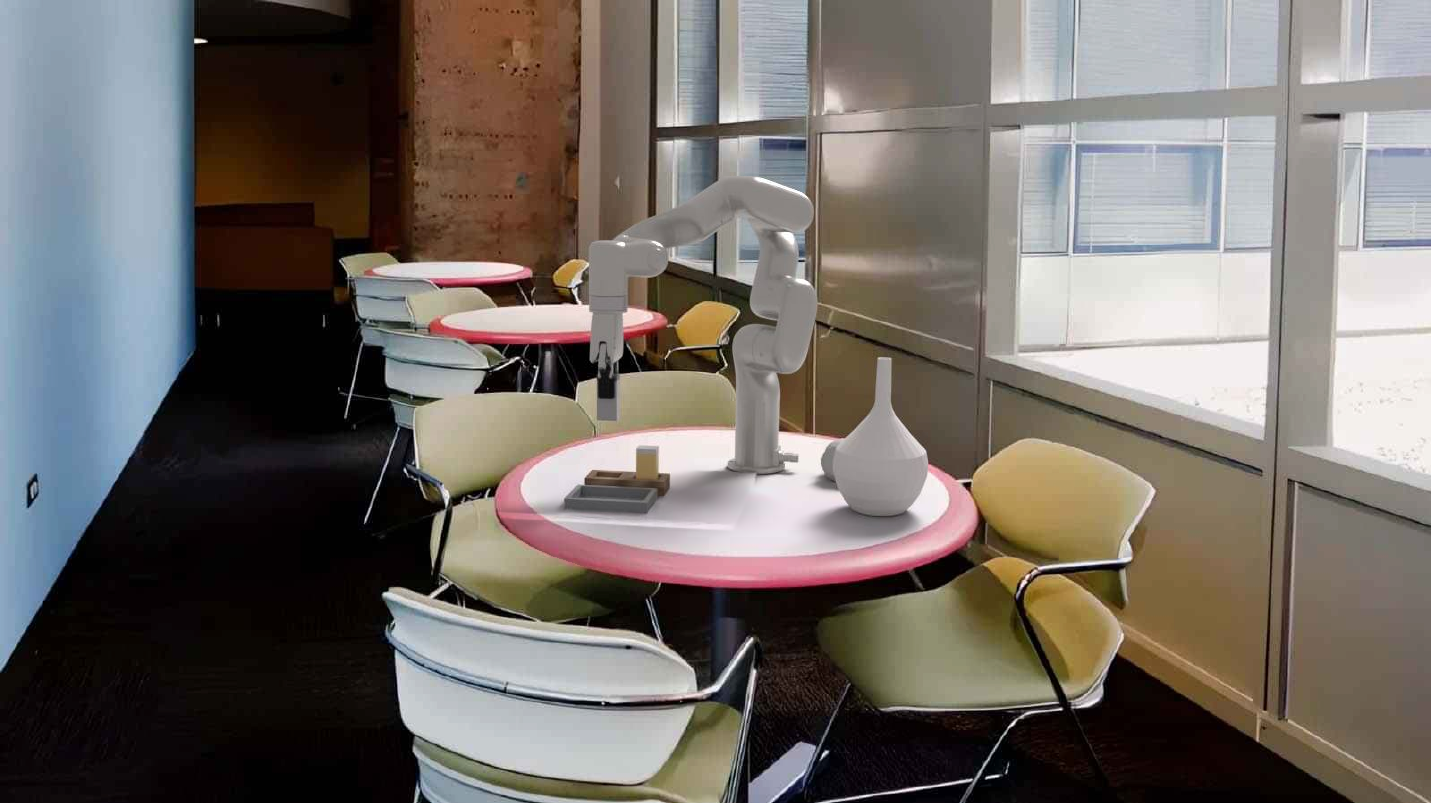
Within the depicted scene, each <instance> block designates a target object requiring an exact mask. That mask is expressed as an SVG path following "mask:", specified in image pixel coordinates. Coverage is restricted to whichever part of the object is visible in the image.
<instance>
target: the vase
mask: <svg viewBox="0 0 1431 803" xmlns="http://www.w3.org/2000/svg"><path fill="white" fill-rule="evenodd" d="M876 361H877V362H876V364H877V365H876V381H875V395H874V396H875V397H874V404H873V406H872V409H871V410H870V412H869V413H868V415H867V416H866V417H864V419H863V420H862V421H861V422H860V423H859V424H858V425H857V426H856V428H855V429H853V430H852V431H851V432H850V434H848V435H847V436H846V437H845V439H844V440H843V441H842V442H841V443H840V444H839V445H838V446H837V447H836V450H835V454H834V458H833V473H834V476H835V480H836V487H837V490H838V491H839V493H840V494H841V496H842V498H843V500H844V501H845V503H846V504H847V505H848V506H849V507H850V508H851V509H852V510H853V512H854V511H855V512H856V513H859V514H862V515H866V516H873V517H894V516H897V515H901V514H903V513H905V511H907V510H908V509H909V508H911V507H912V506H913V504H914V503H915V502H916V500H917V499H918V498H919V496H920V495H921V494H922V493H921V492H922V490H923V488H924V486H925V482H926V480H927V477H928V471H929V460H928V454H927V450H926V448H924V447H923V446H922V445H921V444H920V442H918V440H917V439H916V438H915V437H914V436H913V435H912V434H911V433H910V432H909V430H908V429H907V427H906V426H905V425H904V424H903V423H902V421H901V420H900V419H899V417H898V416H897V415H896V413H895V411H894V408H893V406H892V402H891V400H892V399H891V397H892V357H886V356H885V357H880V356H879V357H877V360H876Z"/></svg>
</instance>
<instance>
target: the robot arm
mask: <svg viewBox="0 0 1431 803" xmlns="http://www.w3.org/2000/svg"><path fill="white" fill-rule="evenodd" d="M814 212H815V210H814V205H813V203H812V201H811V199H810V198H809V196H807V195H805V194H804V193H803V192H801V191H797V190H795V189H793V188H789V187H787V186H784V185H781V184H779V183H776V182H773V181H771V180H769V179H765V178H763V177H759V176H748V175H747V176H744V175H743V176H742V175H729V176H726V177H723V178H720V179H718V180H717V181H716V182H713V183H712V184H711V185H709V186H708V187H707V188H705V189H703V190H702V191H700V192H699V193H697V194H696V195H694V196H692V197H690V199H688V200H686V201H685V202H683V203H682V204H680V205H678V206H675V207H673V208H670V209H667V210H666V211H662V212H660V213H658V214H656V215H653V216H651V217H648V218H645V219H643V220H642V221H639V222H637V223H635V224H634V225H631V226H630V227H629V228H627V229H625V230H624V231H622V232H621V233H619V234H618V235H617V236H615V237H614V238H613V239H612V240H610V239H609V240H596V241H593V242H591V243H590V245H589V247H588V298H589V299H588V311H589V312H590V313H592V315H591V323H590V324H591V326H590V341H589V345H590V346H589V361H590V362H591V363H592V364H595V363H596V362H598V364H597V365H598V366H597V367H598V368H597V369H598V370H597V372H598V373H597V375H598V398H601V399H613V398H614V397H615V379H614V378H613V373H615V374H619V360H620V359H621V358H622V357H623V354H624V317H623V315H624V314H625V313H628V312H629V311H628V305H629V304H628V299H629V298H628V296H629V295H628V284H629V283H628V282H629V281H628V279H629V277H638V278H644V279H646V278H654V277H657V276H659V275H660V274H662V273H663V272H664V271H665V270H666V268H667V267H668V264H669V253H668V251H667V250H668V249H672V248H673V249H674V248H678V247H685V246H691V245H695V244H697V243H701V242H703V241H705V240H707V239H708V238H710V237H711V236H712V235H714V234H715V233H716V232H718V231H720V230H721V229H723V228H724V227H725V226H727V225H729V224H730V223H731V222H733V221H734V220H736V219H740V218H742V219H746V220H747V221H748V223H749V224H750V226H751V227H752V229H753V232H754V233H755V235H756V238H757V240H758V245H759V253H758V262H757V265H756V270H755V274H754V278H753V282H752V283H753V284H752V286H751V291H750V298H749V306H750V310H751V311H752V312H753V314H754V315H756V316H757V317H759V318H762V319H767V320H771V321H777V322H776V326H773V325H768V324H762V323H761V324H760V323H752V324H751V323H750V324H746V325H744V326H742V327H740V329H738V331H737V332H736V333H735V335H734V337H733V341H732V346H731V347H732V348H731V350H732V357H733V363H734V370H735V383H736V384H735V385H736V386H735V392H736V393H735V429H734V430H735V431H734V432H735V433H734V434H735V436H734V440H735V441H734V458H731V459H729V460H727V468H728V469H730V470H731V471H734V472H737V473H747V474H748V473H750V474H751V473H752V474H756V475H761V474H762V475H766V474H773V473H775V474H776V473H780V472H782V471H783V470H785V468H786V462H787V463H788V462H789V463H794V464H795V463H796V464H797V463H799V453H795V452H790V451H788V452H785V451H783V450H781V447H782V446H781V445H779V435H780V434H779V433H780V429H779V428H780V402H781V401H780V400H781V389H780V381H779V377H778V374H783V375H789V374H793V373H795V372H797V371H798V370H800V368H802V366H803V364H804V362H805V360H806V358H807V354H808V351H809V347H810V342H811V338H812V335H813V330H814V327H815V326H814V325H815V322H816V317H817V312H818V305H819V304H818V297H817V296H818V295H817V292H816V290H815V288H814V286H813V285H812V284H811V283H810V282H809V281H808V280H806V279H803V278H798V277H796V275H797V269H798V265H799V264H798V263H799V257H800V254H799V252H800V251H799V246H798V245H799V244H798V243H797V239H796V237H795V235H794V234H799V233H802V232H804V231H806V230H807V229H808V228H809V227H810V226H811V224H812V222H813V220H814V214H815V213H814Z"/></svg>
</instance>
